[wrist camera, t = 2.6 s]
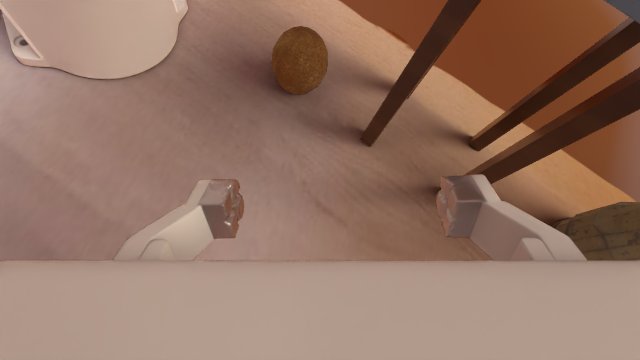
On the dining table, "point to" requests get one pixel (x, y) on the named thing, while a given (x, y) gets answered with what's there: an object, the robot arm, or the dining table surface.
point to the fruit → (299, 60)
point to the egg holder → (627, 7)
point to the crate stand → (557, 134)
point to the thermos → (606, 232)
